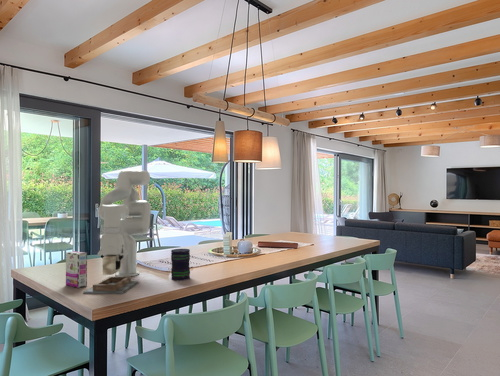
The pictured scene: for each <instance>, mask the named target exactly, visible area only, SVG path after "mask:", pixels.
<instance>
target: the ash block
mask: <svg viewBox="0 0 500 376" xmlns="http://www.w3.org/2000/svg"><path fill="white" fill-rule="evenodd" d="M121 255H122V254H121ZM116 261H117V259H116V255H108V256H105V257H103V259H102V275H104V276H107V275H109V276H113V275H114V274H116V273H117V272H118V271H120V270H122V259H121V266H120V269H118V270H116Z"/></svg>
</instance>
